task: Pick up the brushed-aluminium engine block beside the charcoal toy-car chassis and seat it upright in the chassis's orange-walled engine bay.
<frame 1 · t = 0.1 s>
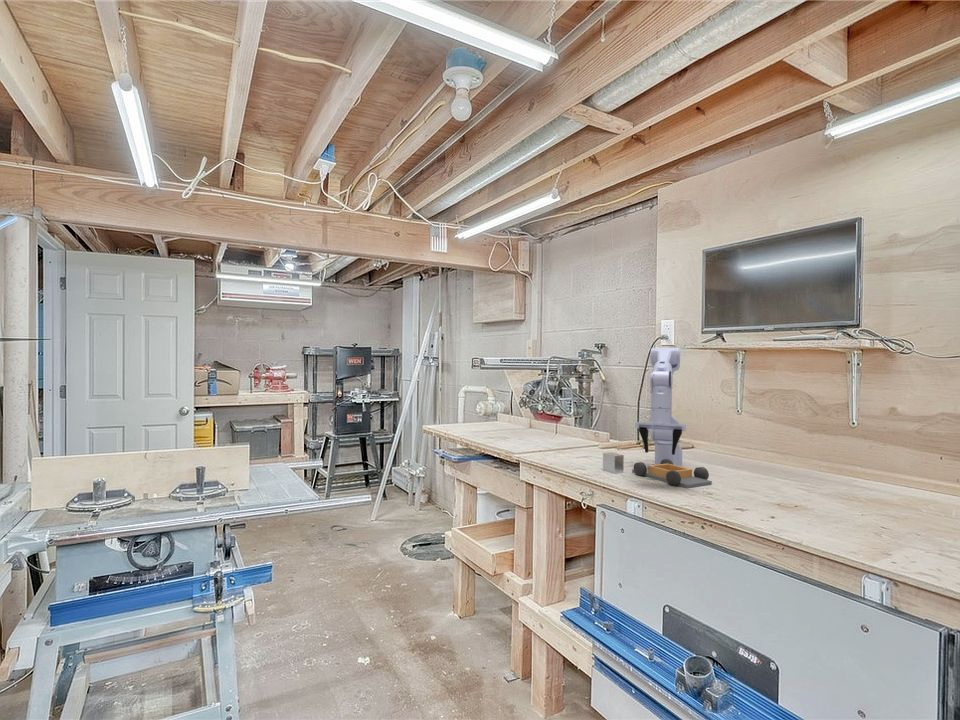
hand: (659, 453, 148), 10 cm above the workbench, fingers open, 7 cm apart
engine block: (613, 471, 170), on the workbench
chassis: (669, 478, 160), on the workbench
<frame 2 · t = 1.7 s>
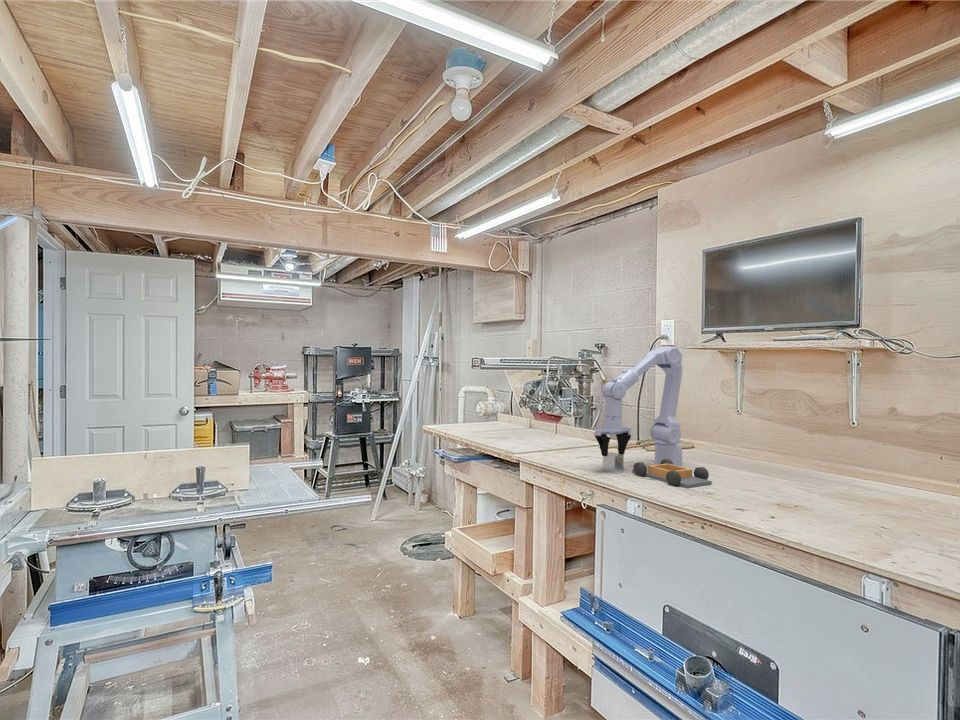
hand: (613, 455, 170), 6 cm above the workbench, fingers open, 7 cm apart
nothing on the workbench moved.
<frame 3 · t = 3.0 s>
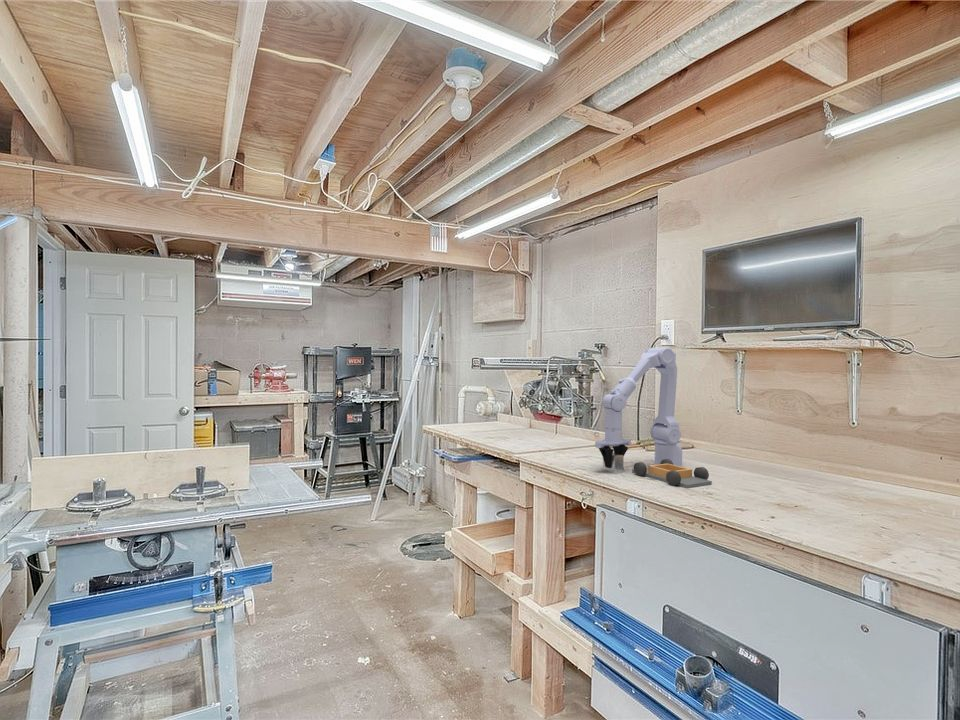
hand: (613, 466, 170), 1 cm above the workbench, fingers closed on engine block, 4 cm apart
engine block: (613, 471, 170), on the workbench, touching gripper
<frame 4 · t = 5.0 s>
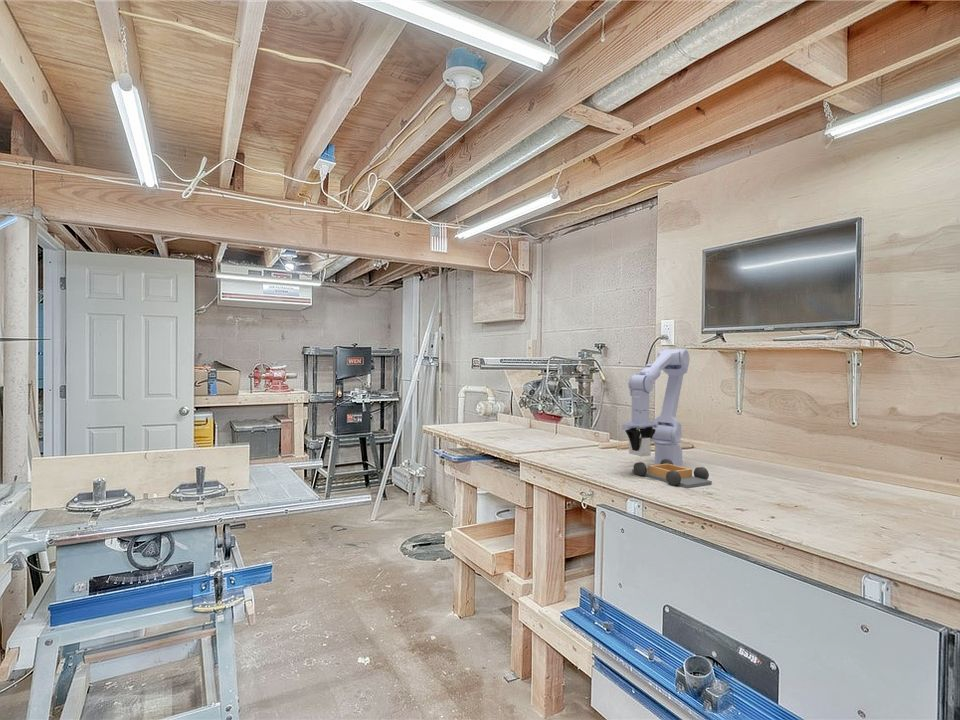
hand: (640, 449, 165), 8 cm above the workbench, fingers closed on engine block, 4 cm apart
engine block: (639, 454, 165), point 7 cm above the workbench, touching gripper
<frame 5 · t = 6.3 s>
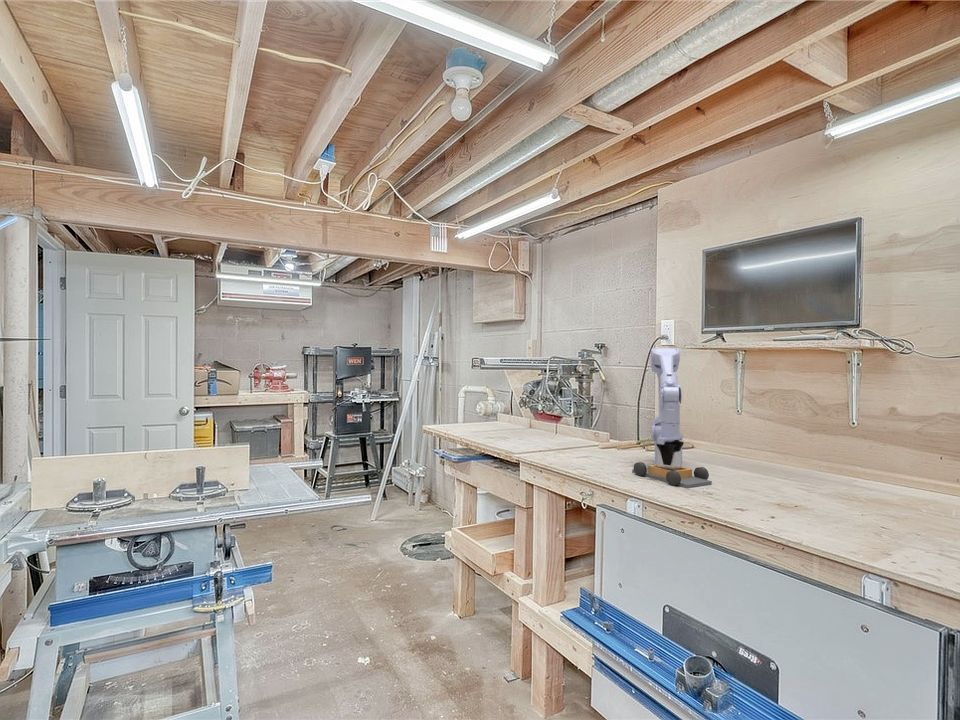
hand: (670, 463, 160), 5 cm above the workbench, fingers closed on engine block, 4 cm apart
engine block: (669, 468, 160), point 3 cm above the workbench, touching gripper
when the fingers open (4 cm above the workbench, at t = 7.2 s): engine block drops 2 cm, resting on chassis.
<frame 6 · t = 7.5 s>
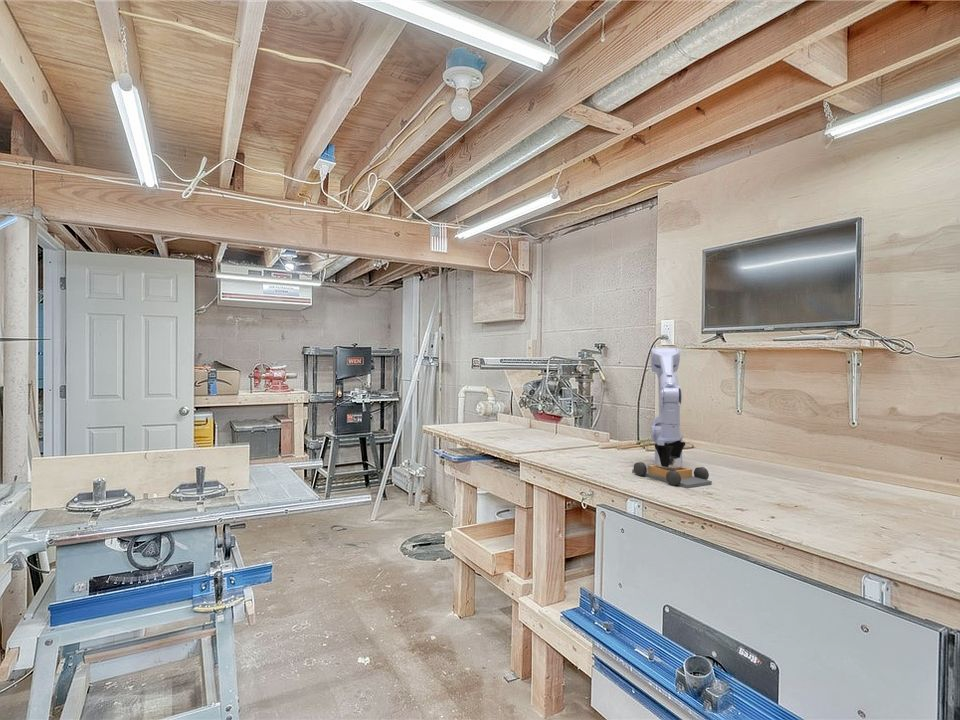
hand: (670, 464, 160), 4 cm above the workbench, fingers open, 7 cm apart
engine block: (669, 474, 160), point 1 cm above the workbench, touching chassis
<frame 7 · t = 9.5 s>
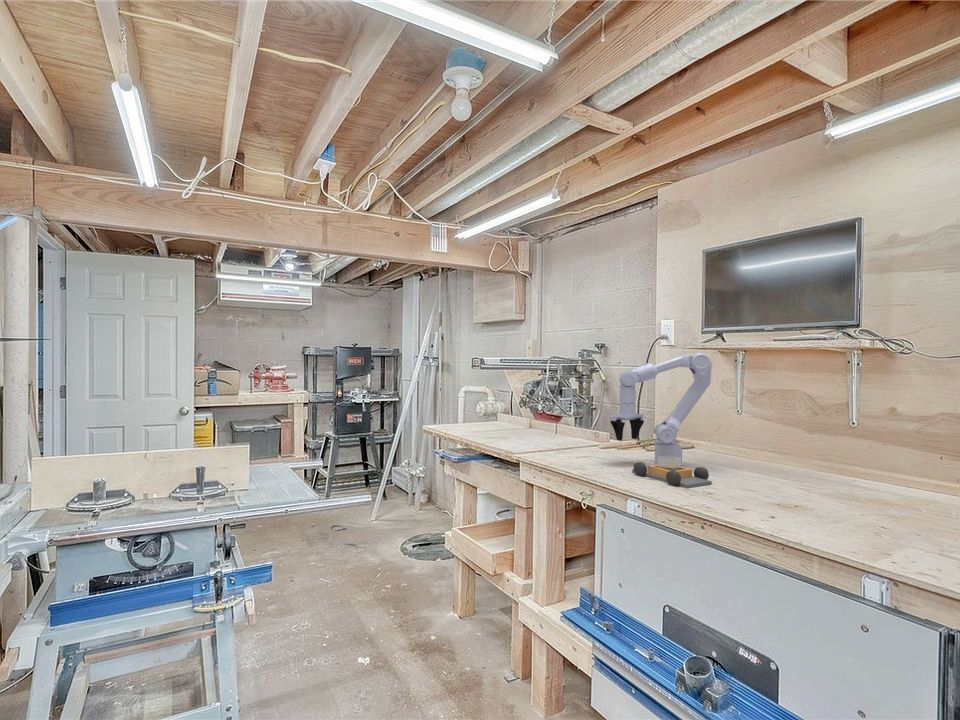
hand: (626, 439, 180), 9 cm above the workbench, fingers open, 7 cm apart
nothing on the workbench moved.
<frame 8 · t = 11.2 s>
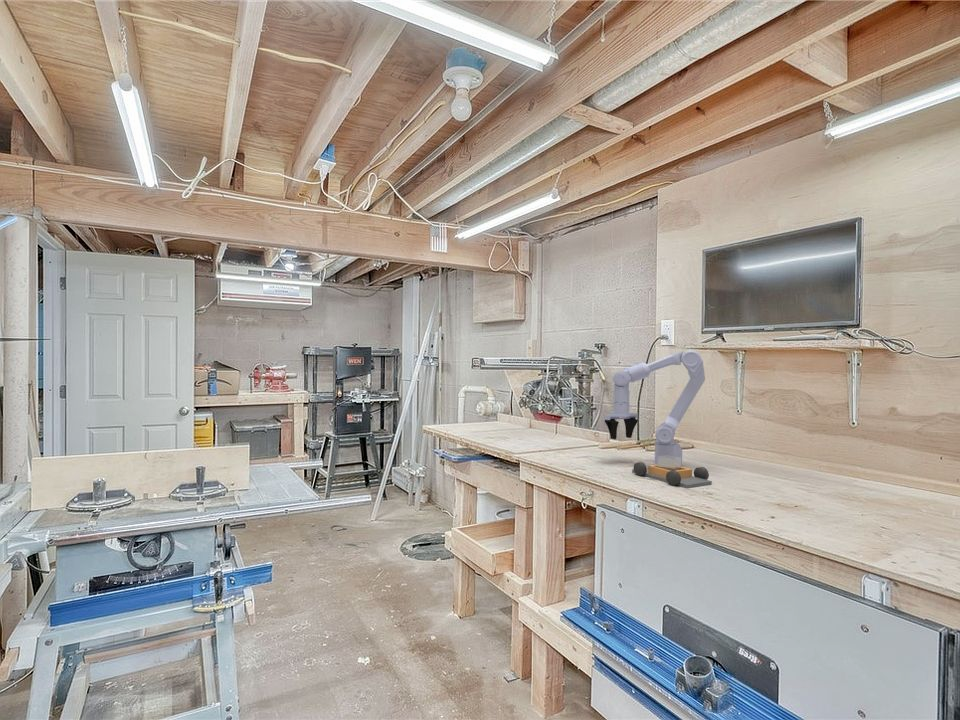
hand: (621, 438, 183), 9 cm above the workbench, fingers open, 7 cm apart
nothing on the workbench moved.
at the end: engine block 0.2 cm off-centre on the chassis, point 1.0 cm above the chassis's base; engine block tilted 0°; the gripper is holding nothing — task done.
